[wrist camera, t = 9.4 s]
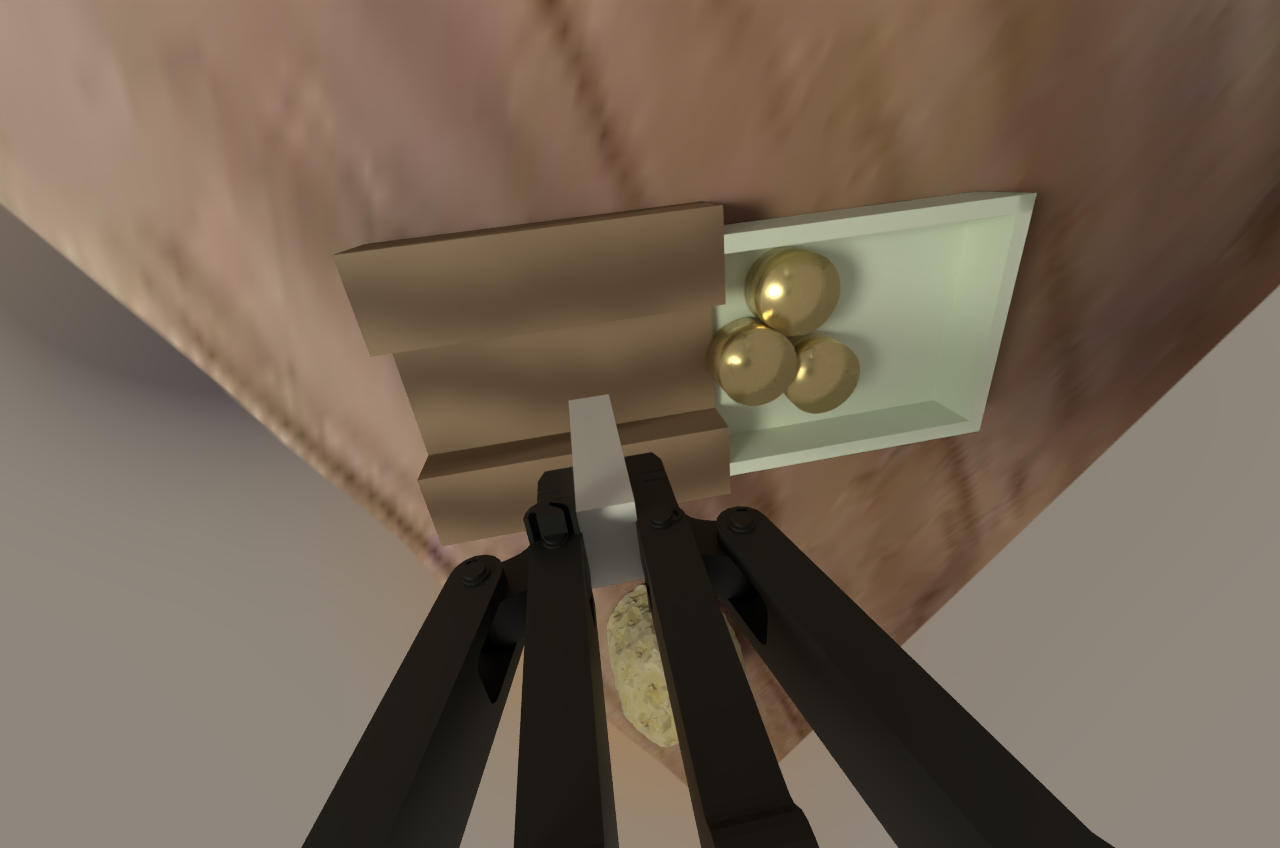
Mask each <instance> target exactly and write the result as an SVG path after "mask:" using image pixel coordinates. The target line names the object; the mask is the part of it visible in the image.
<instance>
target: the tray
mask: <svg viewBox="0 0 1280 848" xmlns="http://www.w3.org/2000/svg"><path fill="white" fill-rule="evenodd" d="M1036 194H1037V193H1022V192H990V191H977V192H969V193H962V194H954V195H946V196H939V197H931V198H924V199H916V200H909V201H901V202H894V203H886V204H878V205H871V206H863V207H856V208H848V209H841V210H833V211H825V212H818V213H810V214H803V215H795V216H788V217H780V218H773V219H765V220H757V221H750V222H742V223H735V224H727V225H724V258H725V297H726V304H725V305H718V306H711V317H712V338H713V336H714V335H715V334H716V332H717V331H718V330H719V329H720V328H722V327H723V326H724V325H726V324H727V323H729V322H731V321H733V320H736V319H740V318H752V319H756V320H759V319H758V318H756V317H755V316H754V315H753V314H752V313H751V312H750V310H749V309H748V307H747V305H746V302H745V298H744V283H745V279H746V276H747V273H748V271H749V269H750V268H751V266H752V265H753V263H754V262H755V261H756V260H757V259H758V258H759V257H760V256H761V255H762V254H764V253H765V252H767V251H768V250H770V249H773V248H776V247H780V246H792V247H796V248H800V249H803V250H807V251H810V252H814V253H817V254H820V255H822V256H824V257H826V258H827V259H829V260H830V261H831V262H832V263H833V265H834V266H835V267H836V269H837V271H838V274H839V278H840V287H841V288H840V296H839V300H838V303H837V305H836V307H835V309H834V311H833V313H832V314H831V316H830V317H829V318H828V320H827V321H826V322H825V323H824V324H823V325H821V326H820V327H819V328H817V329H816V330H817V331H820V332H823V333H824V334H826V335H828V336H830V337H831V338H833V339H835V340H837V341H838V342H840V343H842V344H844V345H845V346H847V347H849V348H850V349H851V350H852V351H853V352H854V353H855V354H856V356H857V358H858V360H859V364H860V376H859V380H858V383H857V386H856V388H855V390H854V391H853V393H852V394H851V396H850V397H849V398H848V399H847V400H846V401H845V402H844V403H843V404H841V405H840V406H838V407H837V408H835V409H833V410H831V411H828V412H825V413H819V414H812V413H807V412H804V411H802V410H800V409H799V408H797V407H796V406H795V405H794V404H793V403H792V402H791V401H790V400H789V399H788V398H787V397H786V396H785V395H784V394H782V395H780V396H779V397H778V398H776V399H775V400H773V401H771V402H769V403H767V404H764V405H760V406H745V405H742V404H739V403H737V402H735V401H734V400H732V399H731V398H730V397H729V396H728V395H727V393H726V392H725V391H724V390H723V389H722V388H721V387H720V385H719V384H718V383H717V382H716V381H715V380H714V393H715V408H716V410H717V411H718V413H719V414H720V415H721V417H722V418H723V420H724V421H725V423H726V424H727V425H728V427H729V453H730V476H731V475H737V474H742V473H748V472H753V471H759V470H765V469H770V468H776V467H781V466H787V465H792V464H798V463H804V462H809V461H815V460H820V459H826V458H831V457H837V456H843V455H848V454H854V453H859V452H865V451H870V450H876V449H882V448H887V447H893V446H898V445H904V444H909V443H915V442H920V441H926V440H932V439H937V438H943V437H948V436H954V435H959V434H965V433H971V432H976V431H979V430H980V426H981V422H982V418H983V414H984V410H985V406H986V401H987V397H988V393H989V389H990V385H991V381H992V377H993V372H994V368H995V364H996V360H997V356H998V352H999V348H1000V343H1001V339H1002V335H1003V331H1004V327H1005V323H1006V319H1007V314H1008V310H1009V306H1010V302H1011V298H1012V294H1013V290H1014V285H1015V281H1016V277H1017V273H1018V269H1019V265H1020V261H1021V256H1022V252H1023V248H1024V244H1025V240H1026V236H1027V232H1028V227H1029V223H1030V219H1031V215H1032V211H1033V207H1034V203H1035V198H1036ZM759 321H761V320H759ZM761 322H762V321H761ZM763 323H764V322H763ZM766 325H767V324H766ZM780 334H781V333H780ZM782 335H783V334H782ZM783 336H785V337H786V338H787V337H789V336H787V335H783Z"/></svg>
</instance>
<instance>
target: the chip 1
mask: <svg viewBox="0 0 1280 848" xmlns="http://www.w3.org/2000/svg"><path fill="white" fill-rule="evenodd" d="M840 288H841V287H840V278H839V274H838V271H837V269H836V267H835V266H834V265H833V263H832V262H831V261H830V260H829V259H827V258H826V257H824V256H822V255H820V254H817V253H814V252H810V251H807V250H803V249H800V248H796V247H792V246H780V247H776V248H773V249H770V250H768V251H767V252H765V253H764V254H762V255H761V256H760V257H759V258H758V259H757V260H756V261H755V262H754V263H753V265H752V266H751V268H750V269H749V271H748V273H747V276H746V279H745V283H744V298H745V302H746V305H747V307H748V309H749V310H750V312H751V313H752V314H753V315H754V316H755V317H756V318H758V319H759V320H761V321H762V322H764V323H765V324H767V325H768V326H769V327H771V328H772V329H774V330H775V331H777V332H779V333H781V334H783V335H787V336H800V335H805V334H808V333H810V332H812V331H814V330H816V329H817V328H819V327H820V326H821V325H823V324H824V323H825V322H826V321H827V320H828V318H829V317H830V316H831V314H832V313H833V311H834V309H835V307H836V305H837V303H838V300H839V296H840Z"/></svg>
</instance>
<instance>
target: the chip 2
mask: <svg viewBox="0 0 1280 848" xmlns="http://www.w3.org/2000/svg"><path fill="white" fill-rule="evenodd" d="M706 362H707V367H708V370H709V373H710V374H711V376H712V377H713V379H714V380H715V381H716V382H717V383H718V384H719V385H720V387H721V388H722V389H723V390H724V391H725V392H726V393H727V395H728V396H729V397H730V398H731V399H732V400H734V401H735V402H737V403H739V404H742V405H745V406H760V405H764V404H767V403H769V402H771V401H773V400H775V399H776V398H778V397H779V396H780V395H782V394H783V393H784V392H785V391H786V389H787V388H788V387H789V385H790V384H791V382H792V380H793V378H794V376H795V373H796V368H797V356H796V352H795V349H794V347H793V345H792V343H791V342H790V341H789V340H788V339H787V338H786V337H785V336H783V335H782V334H780V333H779V332H777V331H775V330H774V329H772V328H771V327H769V326H768V325H766V324H765V323H763V322H761V321H759V320H756V319H752V318H740V319H736V320H733V321H731V322H729V323H727V324H726V325H724V326H723V327H722V328H720V329H719V330H718V331H717V332H716V334H715V335H714V336H713V338H712V340H711V341H710V344H709V346H708V349H707V355H706Z"/></svg>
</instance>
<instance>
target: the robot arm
mask: <svg viewBox="0 0 1280 848" xmlns="http://www.w3.org/2000/svg"><path fill="white" fill-rule="evenodd" d="M569 415H570V429H571V444H572V459H573V467H568V468H562V469H556V470H550V471H545V472H544V473H543V475H542V476H541V478H540V479H539V481H538V488H537V493H538V494H537V504H535V505H533V506H532V507H531V508H530V509H529V510H528V511H527V512H526V513H525V516H524V518H523V521H524V525H525V528H526V532H527V535H528V539H529V542H530V546H529V547H528V548H527V549H526V550H524V551H523V552H522V553H520V554H518V555H516V556H515V557H513V558H510V559H508V560H506V561H503V562H501V561H500V560H499V559H498V558H496V557H495V556H491V555H479V556H474V557H472V558H469V559H467V560H465V561H463V562H462V563H461V564H459V565H458V566H457V567H456V568H455V569H454V570H453V571H452V573H451V574H450V576H449V577H448V579H447V581H446V583H445V585H444V587H443V589H442V590H441V592H440V594H439V596H438V598H437V600H436V601H435V603H434V605H433V607H432V609H431V611H430V613H429V614H428V616H427V618H426V620H425V622H424V623H423V625H422V627H421V629H420V631H419V633H418V635H417V636H416V638H415V640H414V642H413V644H412V645H411V647H410V649H409V651H408V653H407V655H406V656H405V658H404V660H403V662H402V664H401V666H400V668H399V669H398V671H397V673H396V675H395V677H394V679H393V680H392V682H391V684H390V686H389V688H388V690H387V692H386V693H385V695H384V697H383V699H382V701H381V702H380V704H379V706H378V708H377V710H376V712H375V713H374V715H373V717H372V719H371V721H370V723H369V724H368V726H367V728H366V730H365V732H364V734H363V735H362V737H361V739H360V741H359V743H358V745H357V747H356V748H355V750H354V752H353V754H352V756H351V757H350V759H349V761H348V763H347V765H346V767H345V769H344V770H343V772H342V774H341V776H340V778H339V780H338V781H337V784H336V785H335V787H334V789H333V791H332V792H331V794H330V796H329V798H328V800H327V802H326V804H325V805H324V807H323V809H322V811H321V813H320V814H319V816H318V818H317V820H316V822H315V824H314V825H313V828H312V829H311V831H310V833H309V835H308V837H307V838H306V840H305V842H304V844H303V846H302V848H459V847H460V843H461V840H462V837H463V834H464V831H465V828H466V825H467V822H468V818H469V815H470V812H471V809H472V806H473V803H474V800H475V797H476V794H477V791H478V787H479V784H480V781H481V778H482V775H483V772H484V769H485V766H486V762H487V759H488V756H489V753H490V750H491V746H492V744H493V741H494V738H495V734H496V731H497V728H498V725H499V722H500V719H501V716H502V712H503V709H504V706H505V703H506V700H507V697H508V694H509V691H510V687H511V684H512V681H513V678H514V675H515V672H516V669H517V665H518V663H519V660H520V656H521V653H522V650H523V647H524V664H523V684H522V703H521V722H520V740H519V741H520V742H519V759H518V777H517V797H516V815H515V834H514V848H619V842H618V832H617V822H616V812H615V803H614V792H613V782H612V772H611V762H610V752H609V742H608V732H607V721H606V711H605V701H604V691H603V681H602V671H601V661H600V651H599V641H598V631H597V621H596V611H595V602H594V598H593V593H592V588H597V587H603V586H608V585H613V584H618V583H623V582H628V581H633V580H639V579H644V578H645V583H646V591H647V598H648V605H649V612H651V615H652V620H653V624H654V629H655V634H656V638H657V643H658V648H659V652H660V657H661V662H662V666H663V671H664V676H665V680H666V685H667V690H668V694H669V699H670V704H671V708H672V713H673V718H674V722H675V727H676V732H677V736H678V741H679V746H680V750H681V755H682V760H683V764H684V769H685V774H686V778H687V783H688V788H689V792H690V797H691V802H692V806H693V811H694V816H695V820H696V825H697V829H698V834H699V839H700V844H701V848H819V846H818V843H817V841H816V838H815V836H814V833H813V831H812V829H811V826H810V824H809V822H808V820H807V818H806V816H805V815H804V813H803V811H802V809H800V808H799V807H798V806H797V805H796V804H795V803H794V802H793V800H792V798H791V796H790V794H789V791H788V789H787V786H786V783H785V781H784V778H783V775H782V773H781V770H780V768H779V765H778V762H777V759H776V756H775V754H774V751H773V748H772V746H771V743H770V740H769V738H768V735H767V732H766V729H765V727H764V724H763V721H762V719H761V716H760V713H759V711H758V708H757V705H756V702H755V700H754V697H753V694H752V692H751V689H750V686H749V684H748V681H747V678H746V676H745V673H744V670H743V667H742V665H741V662H740V659H739V657H738V654H737V651H736V649H735V646H734V643H733V640H732V638H731V635H730V632H729V630H728V627H727V624H726V622H725V619H724V616H723V613H722V611H721V608H720V605H719V603H718V600H717V598H720V600H721V603H722V604H723V606H724V607H725V608H726V610H727V611H728V612H729V614H730V615H731V617H732V618H733V619H734V621H735V622H736V624H737V625H738V626H739V628H740V629H741V630H742V632H743V633H744V635H745V636H746V637H747V639H748V640H749V642H750V643H751V644H752V646H753V647H754V648H755V650H756V651H757V653H758V654H759V655H760V657H761V658H762V660H763V661H764V662H765V664H766V665H767V666H768V668H769V669H770V671H771V672H772V673H773V675H774V676H775V678H776V679H777V680H778V682H779V683H780V684H781V686H782V687H783V689H784V690H785V691H786V693H787V694H788V696H789V697H790V698H791V700H792V701H793V702H794V704H795V705H796V707H797V708H798V709H799V711H800V712H801V714H802V715H803V716H804V718H805V719H806V720H807V722H808V723H809V725H810V726H811V727H812V729H813V730H814V731H815V733H816V734H817V736H818V737H819V738H820V740H821V741H822V743H823V744H824V745H825V747H826V748H827V749H828V751H829V752H830V754H831V755H832V756H833V758H834V759H835V761H836V762H837V763H838V765H839V766H840V768H841V769H842V770H843V772H844V773H845V774H846V776H847V777H848V779H849V780H850V781H851V783H852V784H853V786H854V787H855V788H856V790H857V791H858V792H859V794H860V795H861V797H862V798H863V799H864V801H865V802H866V804H867V805H868V806H869V808H870V809H871V810H872V812H873V813H874V815H875V816H876V817H877V819H878V820H879V821H880V823H881V824H882V826H883V827H884V828H885V830H886V831H887V833H888V834H889V835H890V837H891V838H892V839H893V841H894V842H895V844H896V845H897V846H898V848H1115V847H1113V846H1112V845H1110V844H1109V843H1107V842H1106V841H1104V840H1103V839H1101V838H1100V837H1098V836H1096V835H1095V834H1094V833H1092V832H1091V831H1090V830H1089V829H1088V828H1087V827H1086V826H1085V825H1084V824H1083V823H1082V822H1081V821H1080V820H1079V819H1078V818H1077V817H1076V816H1075V815H1074V814H1073V813H1072V812H1071V811H1069V810H1068V809H1067V808H1066V807H1065V806H1064V805H1063V804H1062V803H1061V802H1060V801H1059V800H1058V799H1057V798H1056V797H1055V796H1054V795H1053V794H1052V793H1051V792H1050V791H1049V790H1048V789H1046V787H1045V786H1044V785H1043V784H1042V783H1040V782H1039V780H1038V779H1036V778H1035V777H1034V776H1033V775H1032V774H1031V773H1030V772H1029V771H1028V770H1027V769H1026V768H1025V767H1024V766H1023V765H1022V764H1021V763H1020V762H1019V761H1018V760H1017V759H1016V758H1015V757H1014V756H1013V755H1012V754H1011V753H1010V752H1009V751H1007V749H1005V748H1004V747H1003V746H1002V745H1001V744H1000V743H999V742H998V741H997V740H996V739H995V738H994V737H993V736H992V735H991V734H990V733H989V732H988V731H987V730H986V729H985V728H984V727H983V726H981V724H980V723H979V722H978V721H977V720H976V719H974V718H973V717H972V716H971V715H970V714H969V713H968V712H967V711H966V710H965V709H964V708H963V707H962V706H961V705H960V704H959V703H958V702H957V701H956V700H955V699H954V698H953V697H952V696H951V695H950V694H949V693H948V692H947V691H945V690H944V689H943V688H942V687H941V686H940V685H939V684H938V683H937V682H936V681H935V680H934V679H933V678H932V677H931V676H930V675H929V674H928V673H927V672H926V671H925V670H924V669H923V668H922V667H921V666H920V665H919V664H918V663H916V661H915V660H913V659H912V658H911V657H910V656H909V655H908V654H907V653H906V652H905V651H904V650H903V649H902V648H901V647H900V646H899V645H898V644H897V643H896V642H895V641H894V640H893V639H892V638H891V637H890V636H889V635H888V634H887V633H886V632H885V631H884V630H883V629H881V628H880V627H879V626H878V625H877V624H876V623H875V622H874V621H873V620H872V619H871V618H870V617H869V616H868V615H867V614H866V613H865V612H864V611H863V610H862V609H861V608H860V607H859V606H858V605H857V604H856V603H855V602H854V601H853V600H852V599H850V598H849V597H848V596H847V595H846V594H845V593H844V592H843V591H842V590H841V589H840V588H839V587H838V586H837V585H836V584H835V583H834V582H833V581H832V580H831V579H830V578H829V577H828V576H827V575H826V574H825V573H824V572H823V571H822V570H821V569H819V568H818V567H817V566H816V565H815V564H814V563H813V562H812V561H811V560H810V559H809V558H808V557H807V556H806V555H805V554H804V553H803V552H802V551H801V550H800V549H799V548H798V547H797V546H796V545H795V544H794V543H793V542H792V541H791V540H790V539H789V538H787V537H786V536H785V535H784V534H783V533H782V532H781V531H780V530H779V529H778V528H777V527H776V526H775V525H774V524H773V523H772V522H771V521H770V520H769V519H768V518H767V517H766V516H765V515H764V514H762V513H761V512H759V511H758V510H756V509H753V508H749V507H738V506H737V507H733V508H728V509H727V510H725V511H723V512H721V513H720V515H719V516H718V517H717V521H709V520H699V519H695V518H692V517H689V516H688V515H686V514H685V513H684V511H683V510H682V509H681V508H679V506H678V504H677V501H676V498H675V495H674V493H673V490H672V487H671V484H670V482H669V479H668V476H667V473H666V471H665V468H664V465H663V462H662V460H661V459H660V458H659V457H658V456H657V455H655V454H654V453H653V452H649V453H643V454H637V455H631V456H626V457H624V456H623V451H622V447H621V443H620V439H619V435H618V431H617V426H616V422H615V418H614V414H613V410H612V406H611V401H610V397H609V394H607V395H600V396H594V397H588V398H581V399H575V400H569ZM524 644H525V646H524Z"/></svg>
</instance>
